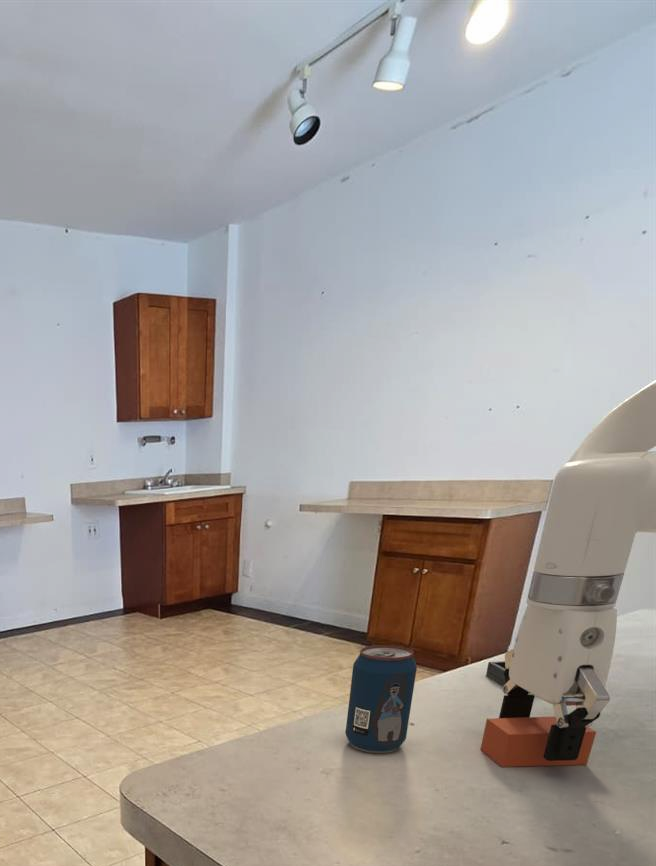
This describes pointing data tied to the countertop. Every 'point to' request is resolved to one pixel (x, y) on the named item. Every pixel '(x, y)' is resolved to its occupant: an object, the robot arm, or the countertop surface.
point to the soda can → (380, 698)
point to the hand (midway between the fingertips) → (534, 742)
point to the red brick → (526, 742)
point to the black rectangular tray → (496, 672)
